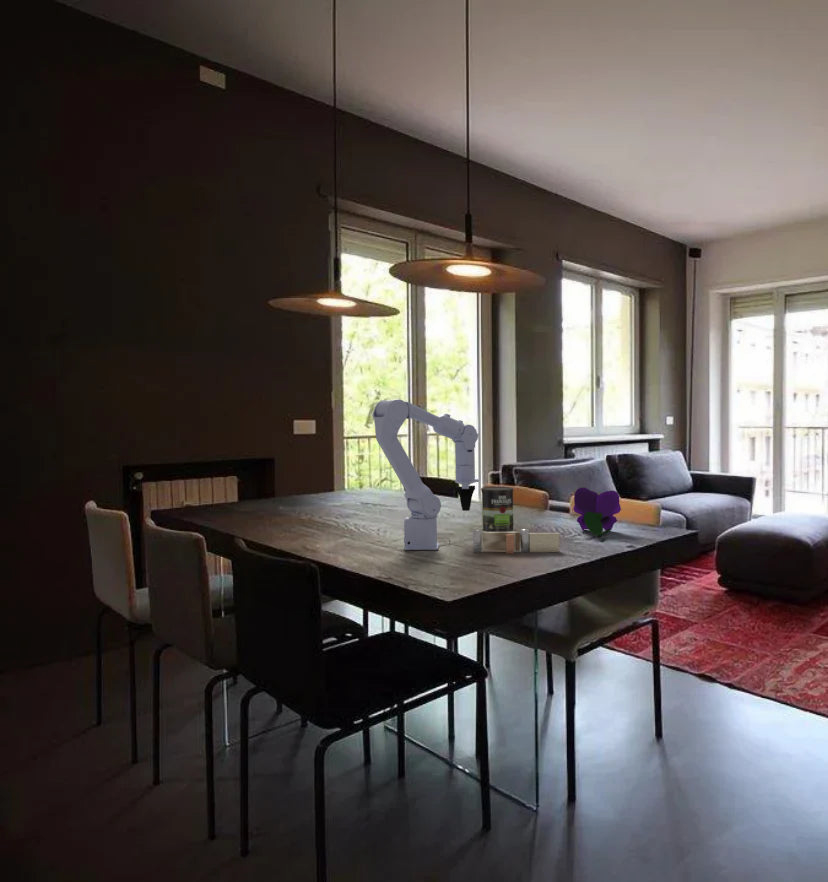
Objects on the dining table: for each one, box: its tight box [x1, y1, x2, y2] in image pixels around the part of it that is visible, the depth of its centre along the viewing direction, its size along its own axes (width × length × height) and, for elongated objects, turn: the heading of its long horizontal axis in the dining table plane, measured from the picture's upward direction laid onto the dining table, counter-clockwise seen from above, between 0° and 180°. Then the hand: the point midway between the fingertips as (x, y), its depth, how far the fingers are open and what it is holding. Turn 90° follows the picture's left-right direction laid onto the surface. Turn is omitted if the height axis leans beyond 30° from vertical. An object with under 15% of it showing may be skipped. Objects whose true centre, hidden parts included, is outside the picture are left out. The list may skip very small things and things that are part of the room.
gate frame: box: [472, 528, 560, 554], centre depth 175 cm, size 23×3×6 cm, turn 85°
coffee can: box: [480, 486, 515, 533], centre depth 205 cm, size 10×10×14 cm
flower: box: [572, 487, 622, 538], centre depth 196 cm, size 15×15×14 cm
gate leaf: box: [482, 531, 521, 552], centre depth 175 cm, size 10×2×5 cm, turn 85°
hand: (466, 510), depth 190 cm, fingers closed
